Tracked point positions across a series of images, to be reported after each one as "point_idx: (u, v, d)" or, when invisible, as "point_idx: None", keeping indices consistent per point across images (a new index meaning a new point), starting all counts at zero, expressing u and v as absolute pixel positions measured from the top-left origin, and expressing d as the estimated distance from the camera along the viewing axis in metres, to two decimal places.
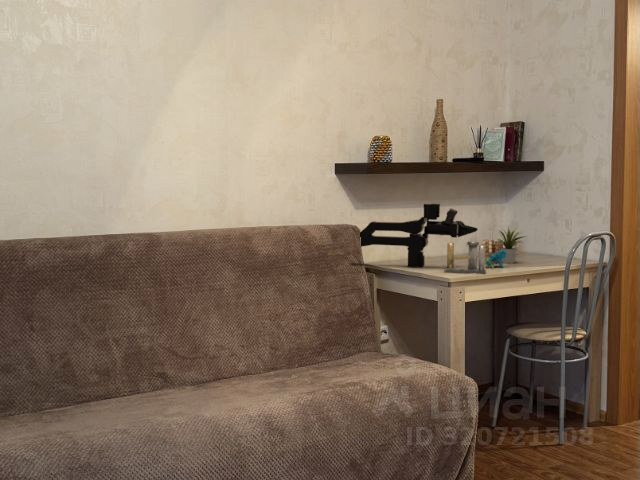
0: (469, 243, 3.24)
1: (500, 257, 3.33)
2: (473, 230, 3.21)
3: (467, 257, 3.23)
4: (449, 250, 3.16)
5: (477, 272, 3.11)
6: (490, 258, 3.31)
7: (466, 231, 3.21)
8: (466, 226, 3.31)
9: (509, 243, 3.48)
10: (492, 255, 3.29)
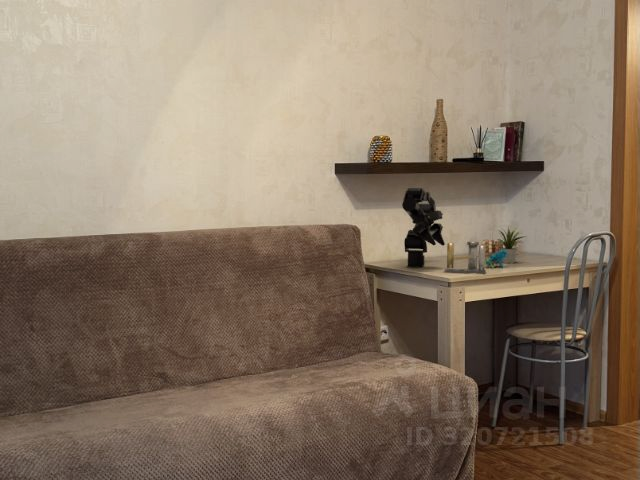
0: (469, 243, 3.24)
1: (500, 257, 3.33)
2: (433, 242, 3.17)
3: (467, 257, 3.23)
4: (449, 250, 3.16)
5: (477, 272, 3.11)
6: (490, 258, 3.31)
7: (427, 238, 3.17)
8: (439, 234, 3.26)
9: (509, 243, 3.48)
10: (492, 255, 3.29)
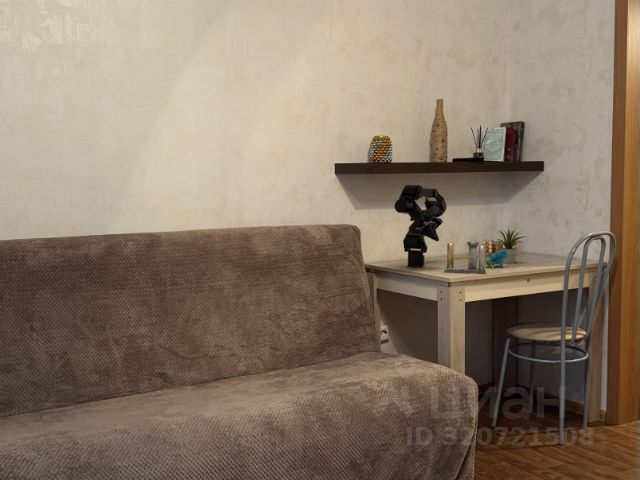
0: (469, 243, 3.24)
1: (500, 257, 3.33)
2: (435, 238, 3.20)
3: (467, 257, 3.23)
4: (449, 250, 3.16)
5: (477, 272, 3.11)
6: (490, 258, 3.31)
7: (429, 234, 3.21)
8: (433, 230, 3.22)
9: (509, 243, 3.48)
10: (492, 255, 3.29)
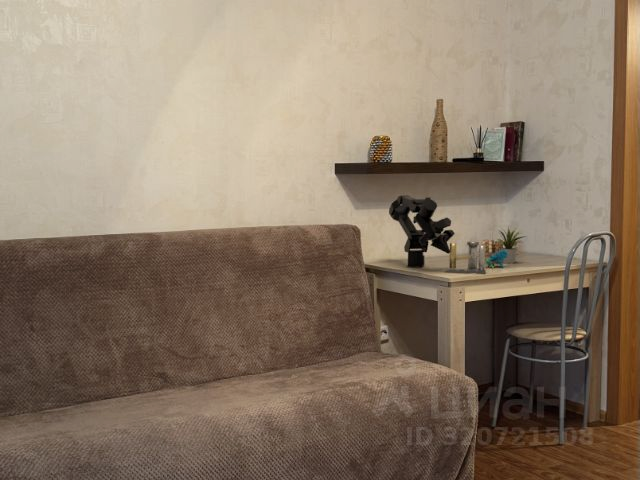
0: (469, 243, 3.24)
1: (501, 257, 3.33)
2: (446, 250, 3.17)
3: (468, 257, 3.23)
4: (452, 250, 3.15)
5: (477, 272, 3.11)
6: (490, 258, 3.31)
7: (441, 246, 3.18)
8: (444, 242, 3.19)
9: (509, 243, 3.48)
10: (492, 255, 3.29)
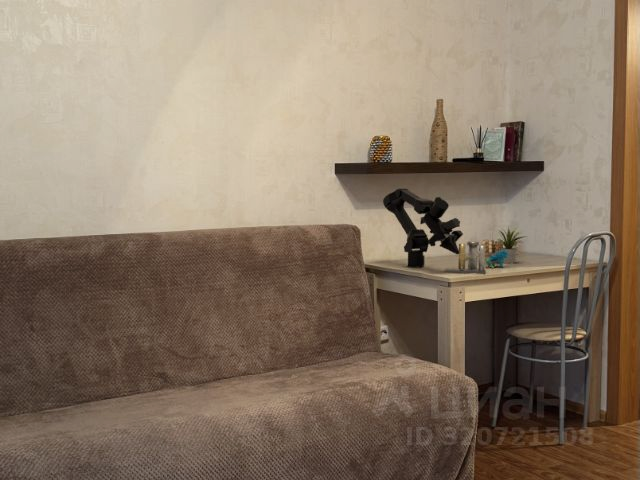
0: (469, 243, 3.24)
1: (501, 257, 3.33)
2: (456, 251, 3.15)
3: (471, 257, 3.22)
4: (462, 251, 3.12)
5: (477, 272, 3.11)
6: (490, 258, 3.31)
7: (450, 247, 3.15)
8: (453, 243, 3.16)
9: (509, 243, 3.48)
10: (492, 255, 3.29)
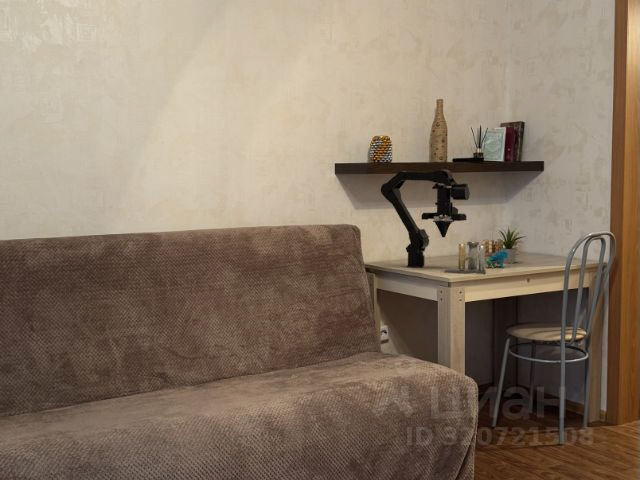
0: (469, 243, 3.24)
1: (501, 257, 3.33)
2: (445, 234, 3.26)
3: (471, 257, 3.22)
4: (462, 251, 3.12)
5: (477, 272, 3.11)
6: (490, 258, 3.31)
7: (445, 228, 3.25)
8: None
9: (509, 243, 3.48)
10: (492, 255, 3.29)
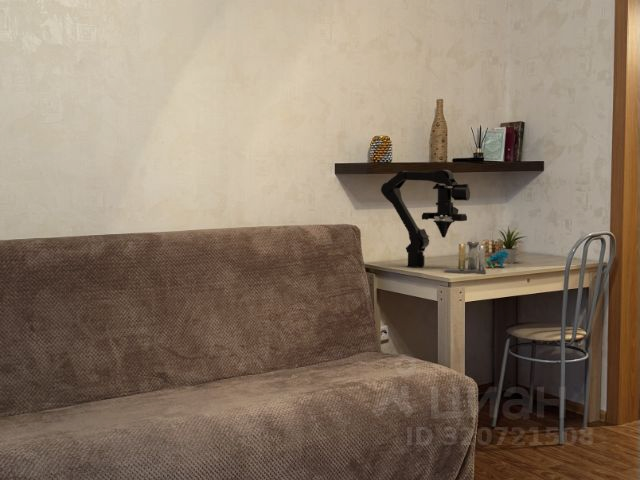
0: (469, 243, 3.24)
1: (501, 257, 3.32)
2: (445, 234, 3.26)
3: (471, 257, 3.22)
4: (462, 251, 3.12)
5: (477, 272, 3.11)
6: (490, 258, 3.31)
7: (446, 228, 3.25)
8: None
9: (509, 243, 3.48)
10: (492, 255, 3.29)
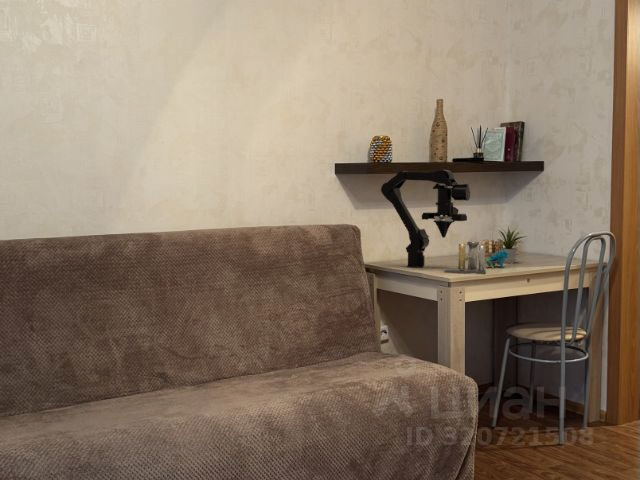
0: (469, 243, 3.24)
1: (501, 257, 3.32)
2: (445, 234, 3.26)
3: (471, 257, 3.22)
4: (462, 251, 3.12)
5: (477, 272, 3.11)
6: (490, 258, 3.31)
7: (446, 228, 3.25)
8: None
9: (509, 243, 3.48)
10: (492, 255, 3.29)
